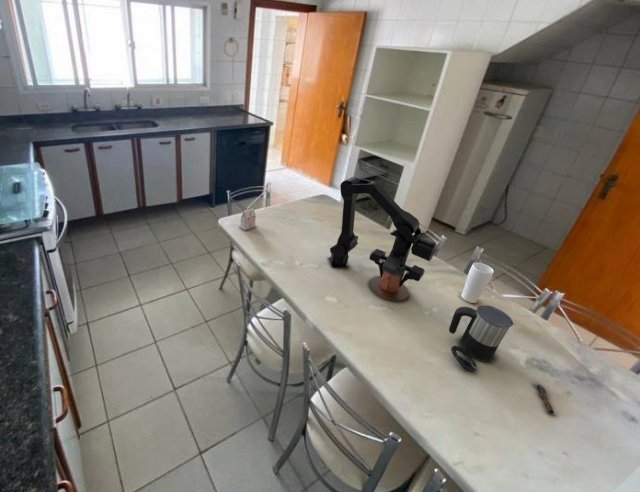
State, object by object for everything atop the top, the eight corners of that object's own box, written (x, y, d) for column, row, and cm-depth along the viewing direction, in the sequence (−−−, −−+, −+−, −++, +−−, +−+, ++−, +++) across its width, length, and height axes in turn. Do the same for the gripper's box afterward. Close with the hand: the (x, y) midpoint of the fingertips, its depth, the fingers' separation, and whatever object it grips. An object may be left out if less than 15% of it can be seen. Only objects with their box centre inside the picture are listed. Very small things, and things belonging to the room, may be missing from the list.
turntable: (377, 301, 124) (378, 299, 123) (364, 277, 136) (365, 275, 136) (414, 302, 124) (414, 300, 124) (397, 278, 137) (398, 276, 136)
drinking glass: (482, 306, 124) (497, 274, 117) (462, 303, 125) (477, 271, 118) (474, 294, 130) (489, 263, 123) (455, 291, 131) (469, 260, 124)
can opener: (553, 414, 87) (555, 412, 87) (542, 410, 88) (544, 407, 88) (543, 387, 95) (545, 384, 94) (533, 383, 96) (535, 380, 95)
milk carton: (240, 227, 167) (241, 210, 163) (250, 223, 171) (251, 206, 167) (244, 230, 165) (245, 213, 160) (254, 226, 169) (256, 209, 164)
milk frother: (488, 342, 108) (506, 309, 102) (506, 384, 95) (528, 349, 88) (440, 330, 112) (455, 297, 106) (451, 368, 99) (468, 333, 92)
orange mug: (383, 278, 134) (389, 259, 130) (401, 286, 130) (408, 268, 126) (374, 288, 128) (379, 269, 124) (392, 298, 124) (399, 278, 120)
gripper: (367, 246, 122) (359, 279, 129) (420, 269, 111) (407, 304, 117) (380, 235, 129) (371, 267, 136) (430, 256, 118) (418, 289, 125)
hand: (390, 281), depth 128 cm, fingers closed on orange mug, 7 cm apart
